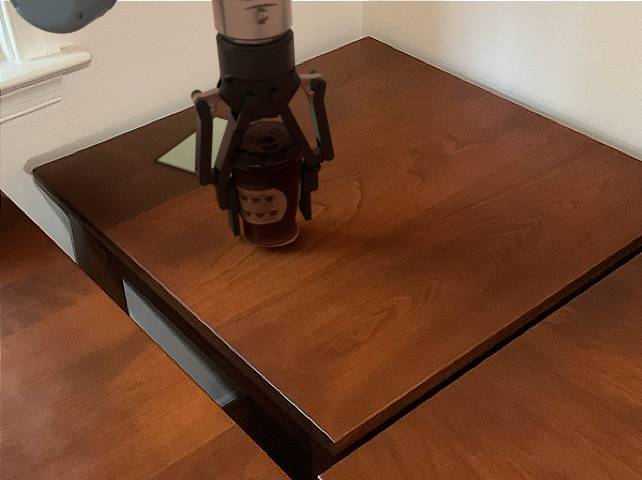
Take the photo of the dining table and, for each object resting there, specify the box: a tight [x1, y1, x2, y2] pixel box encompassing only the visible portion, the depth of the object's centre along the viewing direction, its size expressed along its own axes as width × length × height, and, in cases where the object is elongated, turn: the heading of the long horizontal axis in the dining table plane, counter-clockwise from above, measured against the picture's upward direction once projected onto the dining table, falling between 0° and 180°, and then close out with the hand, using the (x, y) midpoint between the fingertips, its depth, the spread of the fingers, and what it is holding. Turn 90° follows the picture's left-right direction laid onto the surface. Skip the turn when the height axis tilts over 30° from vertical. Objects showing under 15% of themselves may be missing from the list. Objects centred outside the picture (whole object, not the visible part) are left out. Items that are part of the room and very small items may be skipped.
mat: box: [157, 116, 228, 174], centre depth 110 cm, size 13×13×1 cm
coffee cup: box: [230, 120, 304, 248], centre depth 90 cm, size 9×8×13 cm
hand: (270, 221), depth 93 cm, fingers closed on coffee cup, 8 cm apart
